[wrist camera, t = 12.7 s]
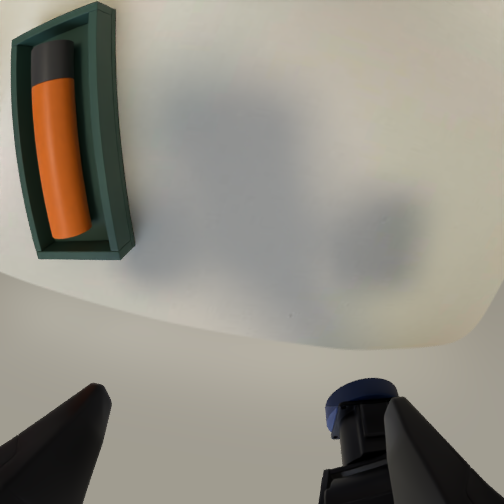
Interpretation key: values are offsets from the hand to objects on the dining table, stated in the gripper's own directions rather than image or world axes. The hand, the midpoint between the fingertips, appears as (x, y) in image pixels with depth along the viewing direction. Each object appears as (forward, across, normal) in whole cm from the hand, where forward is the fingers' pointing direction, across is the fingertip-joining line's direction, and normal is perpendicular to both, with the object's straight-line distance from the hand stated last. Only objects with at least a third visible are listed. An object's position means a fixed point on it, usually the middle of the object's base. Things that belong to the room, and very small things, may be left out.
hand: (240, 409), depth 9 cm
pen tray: (+12, +12, -8) cm, 19 cm away
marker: (+12, +12, -8) cm, 19 cm away
